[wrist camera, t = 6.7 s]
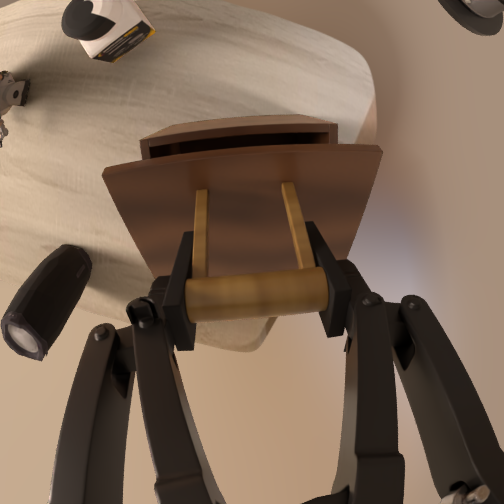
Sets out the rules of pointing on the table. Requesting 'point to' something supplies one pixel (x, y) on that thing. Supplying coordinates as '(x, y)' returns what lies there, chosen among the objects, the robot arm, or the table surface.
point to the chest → (238, 134)
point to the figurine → (10, 97)
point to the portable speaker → (46, 302)
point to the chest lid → (247, 221)
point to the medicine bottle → (106, 27)
